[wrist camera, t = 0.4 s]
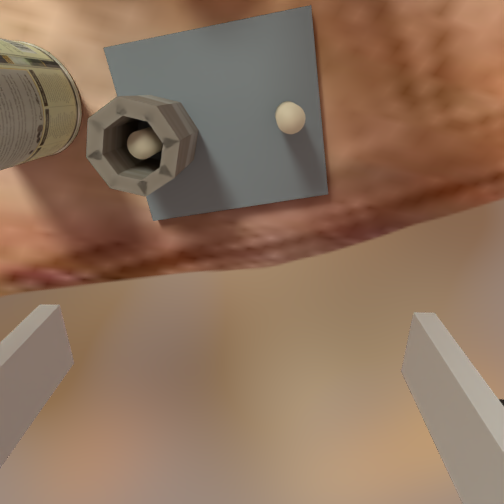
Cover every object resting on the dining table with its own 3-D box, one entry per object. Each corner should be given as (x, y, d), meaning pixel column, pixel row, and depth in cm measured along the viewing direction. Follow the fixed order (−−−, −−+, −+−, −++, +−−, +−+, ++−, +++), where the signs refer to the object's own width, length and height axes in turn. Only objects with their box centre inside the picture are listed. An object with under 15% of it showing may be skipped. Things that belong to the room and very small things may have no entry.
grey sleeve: (110, 124, 35) (67, 133, 28) (167, 82, 33) (138, 79, 26) (154, 185, 37) (126, 209, 30) (210, 148, 35) (195, 163, 28)
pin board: (108, 49, 33) (69, 39, 27) (309, 8, 32) (320, -14, 25) (156, 217, 40) (133, 242, 33) (326, 191, 38) (338, 212, 31)
